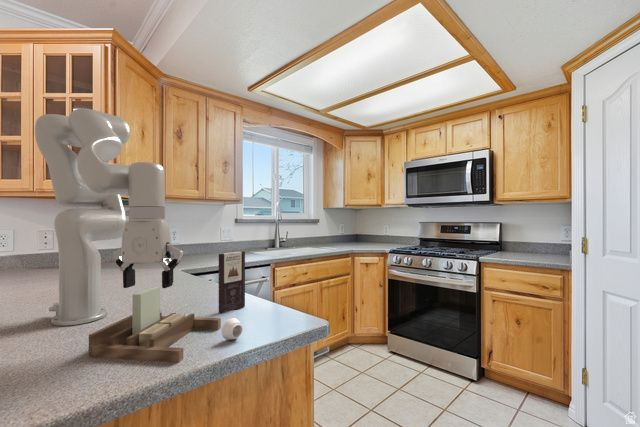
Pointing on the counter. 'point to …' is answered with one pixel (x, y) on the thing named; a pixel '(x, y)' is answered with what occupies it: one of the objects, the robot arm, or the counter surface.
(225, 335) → the white jar
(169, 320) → the offcut
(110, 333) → the rack
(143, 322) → the sage green slab
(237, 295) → the chocolate bar
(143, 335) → the offcut
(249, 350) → the counter surface
